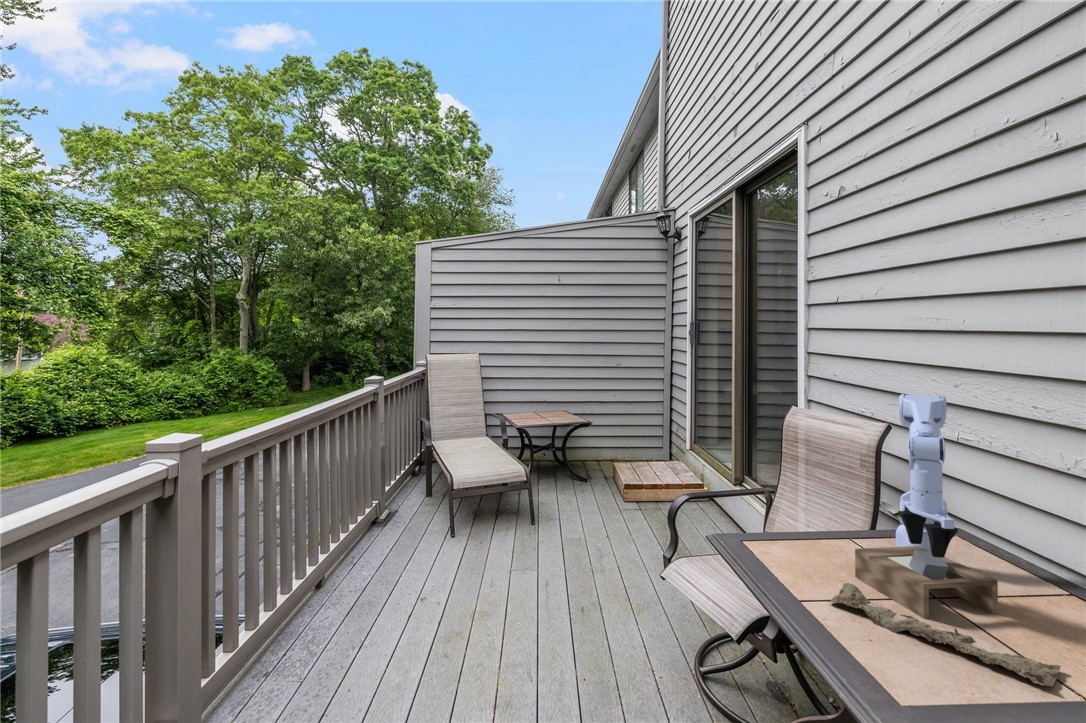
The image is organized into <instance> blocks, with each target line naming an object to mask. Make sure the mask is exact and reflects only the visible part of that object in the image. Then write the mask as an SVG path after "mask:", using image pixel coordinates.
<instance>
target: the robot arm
mask: <svg viewBox="0 0 1086 723" xmlns="http://www.w3.org/2000/svg"><path fill="white" fill-rule="evenodd" d="M898 399H899V400H898V401H899V402H898V404H899V406H898V409H899V410H898V411H899V412H898V413H899V414H898V415H899V422H900V424H901V426H903V427H905V428H907V429H909V430H908V431H909V437H908V438H907V459H908V464H909V469H910V471H909V484H910V485H909V486H910V487H909V491H907V492H904V493H903V494H901V496H900V502H899V511H897V513H898V516H899V523H900V524H899V526H897V528H896V531H895V547H905V546H920V547H923V548H925V549H927V550H929V551H931V554H932V556H933V557H941V558H944V557H945V556H946V554H947V550H948V548H949V546H950V543H951V541H952V540H953V538H954V536H956V534H957V533H958V529H959V528H958V527H955V519H953V518H951V517H950V516H949V515H948V514H949V513H948V512H949V510H948V508H947V506H948V505H947V502H946V501H945V499H944V497H943V495H944V494H943V493H944V492H943V465H944V463H945V460H946V443H945V440H944V438H943V436H941V429H942V428H944V425H945V424H946V418H947V412H948V411H947V409H948V408H947V398H946V396H945V395H942V394H941V395H927V394H925V395H924V394H904V393H901V394H900V395H899V396H898Z"/></svg>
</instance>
